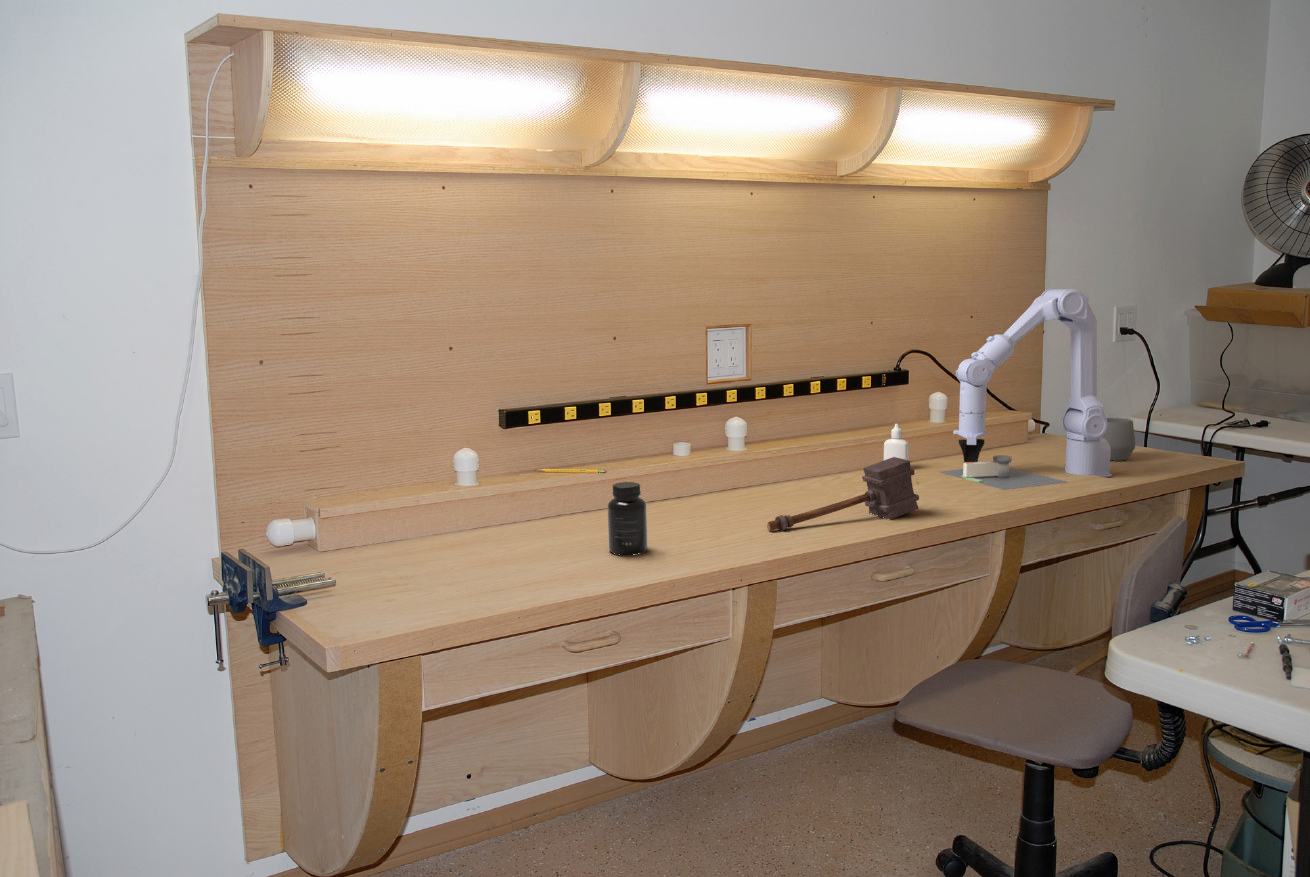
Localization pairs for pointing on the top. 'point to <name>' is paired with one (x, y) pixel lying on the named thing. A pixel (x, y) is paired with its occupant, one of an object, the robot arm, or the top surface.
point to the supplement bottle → (627, 520)
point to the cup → (1120, 438)
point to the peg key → (988, 467)
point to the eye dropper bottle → (896, 445)
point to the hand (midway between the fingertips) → (970, 470)
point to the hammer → (870, 494)
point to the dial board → (1008, 479)
